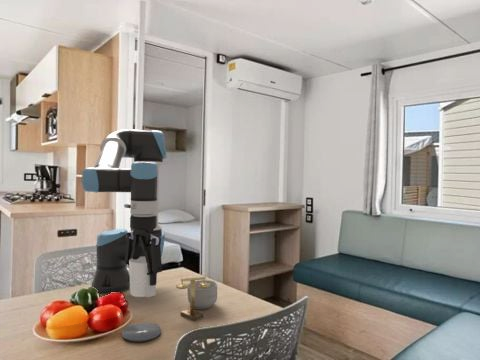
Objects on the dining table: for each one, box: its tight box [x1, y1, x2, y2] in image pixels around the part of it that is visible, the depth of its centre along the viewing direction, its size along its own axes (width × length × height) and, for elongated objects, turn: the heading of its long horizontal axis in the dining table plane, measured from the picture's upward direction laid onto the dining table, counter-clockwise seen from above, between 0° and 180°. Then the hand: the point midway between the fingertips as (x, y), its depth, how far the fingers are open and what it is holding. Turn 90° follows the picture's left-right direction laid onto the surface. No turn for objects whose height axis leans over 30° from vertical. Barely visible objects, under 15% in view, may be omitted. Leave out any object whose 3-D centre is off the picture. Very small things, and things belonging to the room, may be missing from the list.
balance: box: [175, 275, 210, 322], centre depth 120 cm, size 15×4×14 cm, turn 50°
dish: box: [121, 322, 162, 343], centre depth 107 cm, size 11×11×1 cm
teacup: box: [186, 278, 218, 310], centre depth 131 cm, size 14×11×8 cm
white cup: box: [128, 256, 149, 298], centre depth 106 cm, size 8×8×10 cm
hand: (142, 292), depth 106 cm, fingers closed on white cup, 7 cm apart
